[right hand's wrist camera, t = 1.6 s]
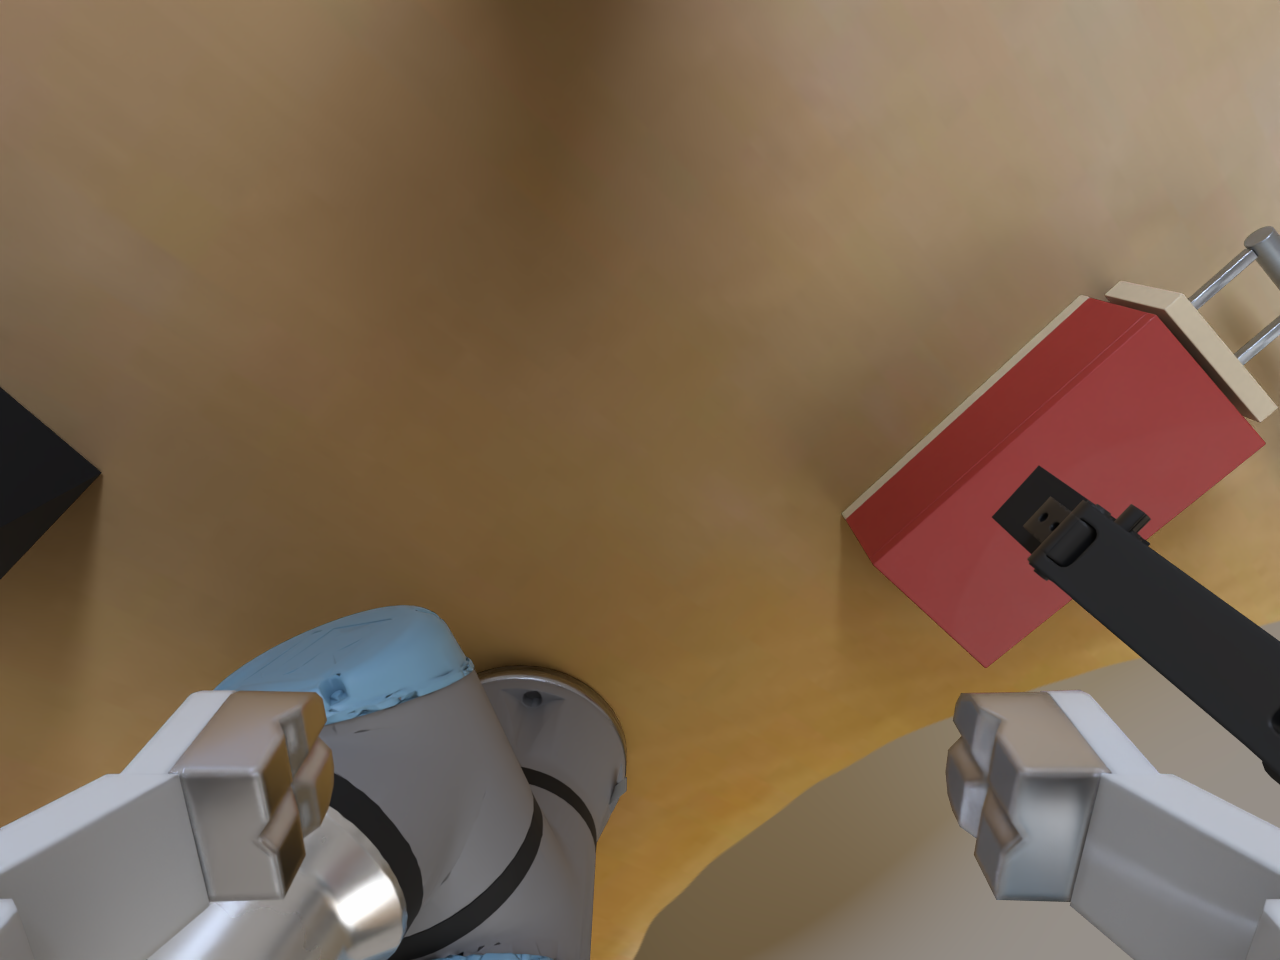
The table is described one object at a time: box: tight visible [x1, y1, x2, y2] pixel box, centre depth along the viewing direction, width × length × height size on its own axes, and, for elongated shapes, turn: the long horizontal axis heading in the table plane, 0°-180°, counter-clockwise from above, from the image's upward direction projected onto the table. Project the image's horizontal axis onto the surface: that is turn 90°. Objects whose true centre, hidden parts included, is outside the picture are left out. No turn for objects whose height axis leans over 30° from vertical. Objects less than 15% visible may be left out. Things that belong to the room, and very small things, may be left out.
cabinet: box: [841, 295, 1266, 668], centre depth 50 cm, size 20×10×8 cm, turn 137°
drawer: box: [1105, 226, 1280, 422], centre depth 48 cm, size 25×9×6 cm, turn 137°
